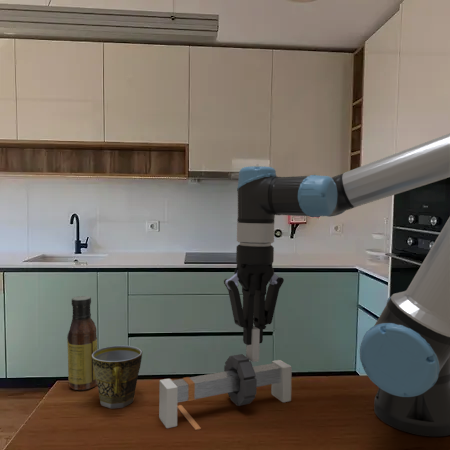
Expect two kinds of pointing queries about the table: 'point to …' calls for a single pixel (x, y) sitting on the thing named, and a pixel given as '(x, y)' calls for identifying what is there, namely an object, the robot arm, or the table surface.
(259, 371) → the light grey bar
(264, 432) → the table surface
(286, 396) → the stand
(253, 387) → the ring
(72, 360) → the sauce bottle
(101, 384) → the ceramic cup
